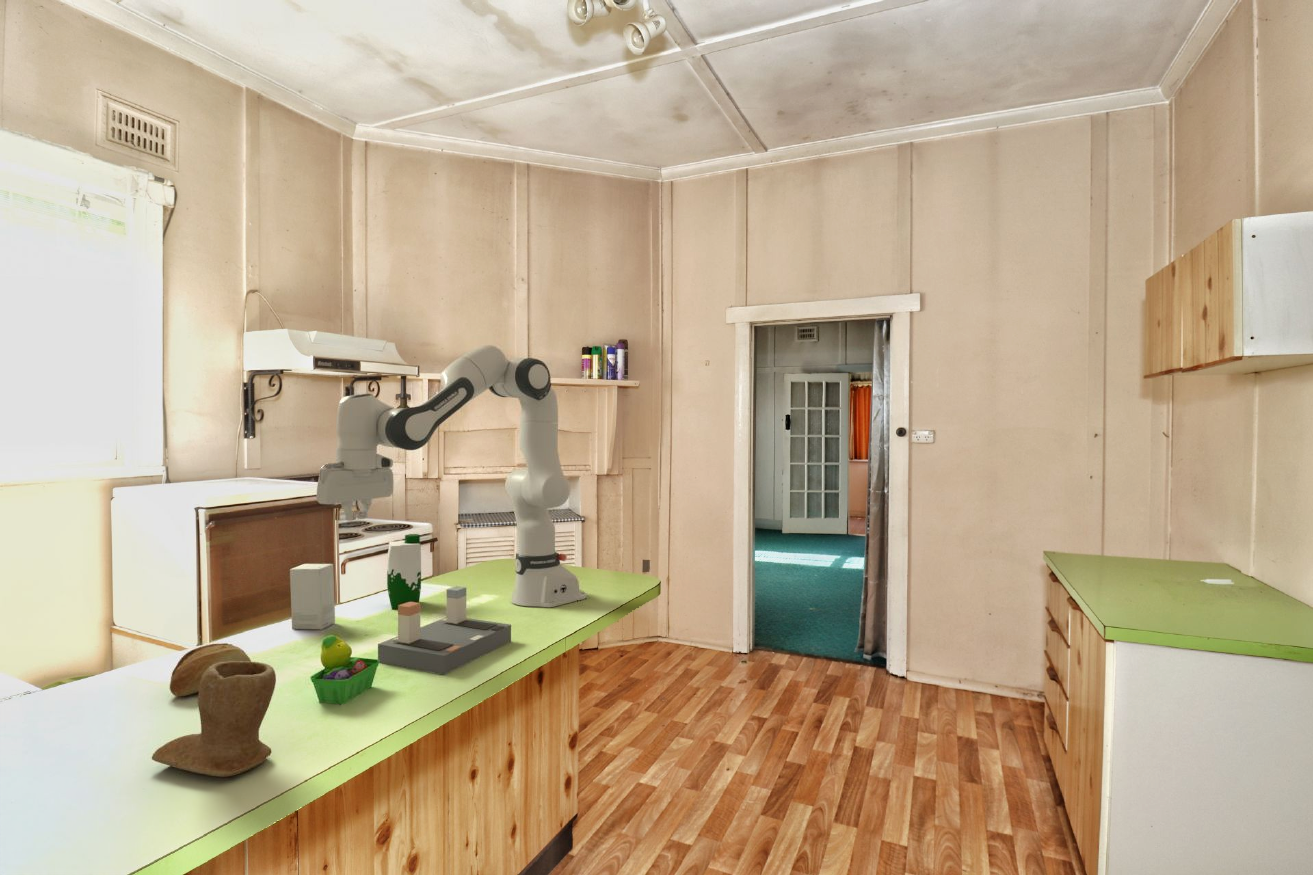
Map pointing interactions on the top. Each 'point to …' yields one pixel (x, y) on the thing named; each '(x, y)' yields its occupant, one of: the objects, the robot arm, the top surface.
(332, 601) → the skincare box
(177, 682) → the bread roll
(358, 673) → the fruit basket
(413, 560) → the milk carton
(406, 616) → the switch
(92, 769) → the top surface
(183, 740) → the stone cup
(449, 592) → the switch
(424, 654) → the console
